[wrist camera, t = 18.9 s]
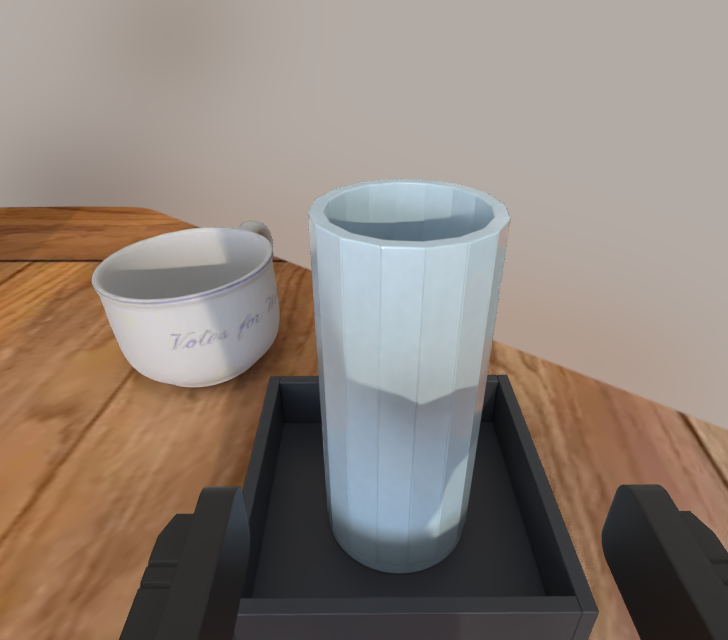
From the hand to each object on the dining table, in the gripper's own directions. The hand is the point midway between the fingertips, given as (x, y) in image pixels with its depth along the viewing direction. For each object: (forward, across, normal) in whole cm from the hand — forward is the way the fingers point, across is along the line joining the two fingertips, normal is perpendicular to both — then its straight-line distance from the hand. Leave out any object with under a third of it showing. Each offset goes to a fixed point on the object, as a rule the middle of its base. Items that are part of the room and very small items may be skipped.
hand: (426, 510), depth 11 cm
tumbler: (+9, 0, +11) cm, 14 cm away
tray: (+9, 0, +12) cm, 15 cm away
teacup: (+23, +11, +12) cm, 29 cm away
